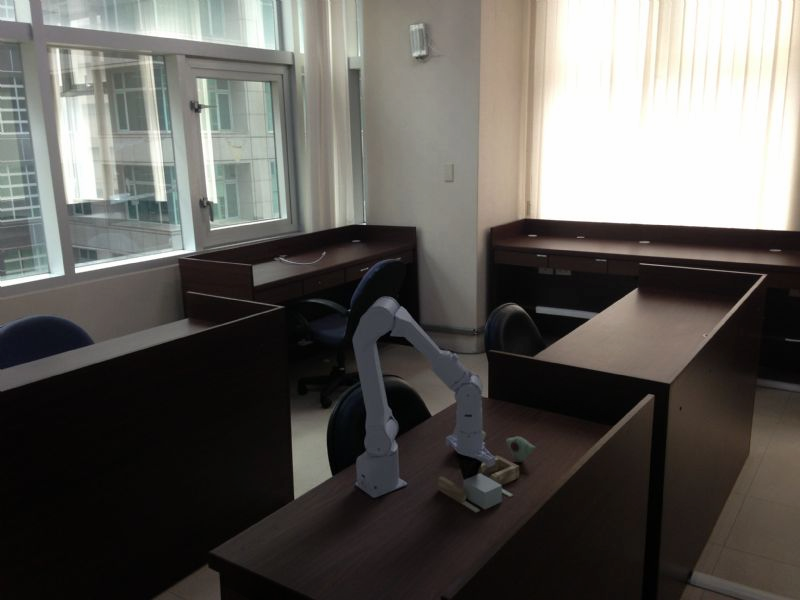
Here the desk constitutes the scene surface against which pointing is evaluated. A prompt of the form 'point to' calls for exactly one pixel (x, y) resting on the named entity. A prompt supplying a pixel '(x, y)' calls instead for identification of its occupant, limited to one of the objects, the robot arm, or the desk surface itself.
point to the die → (456, 433)
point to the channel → (498, 473)
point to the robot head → (519, 448)
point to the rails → (477, 508)
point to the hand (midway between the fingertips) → (470, 483)
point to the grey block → (483, 491)
